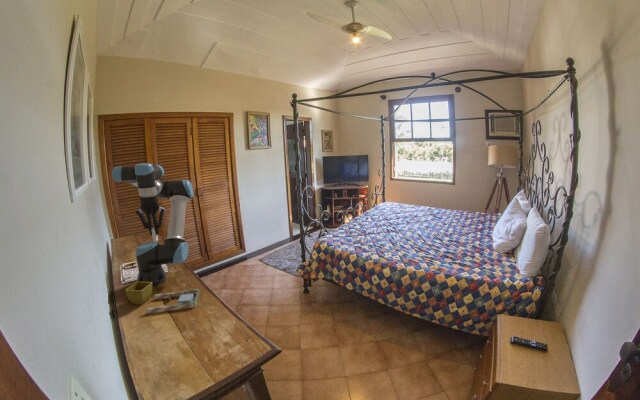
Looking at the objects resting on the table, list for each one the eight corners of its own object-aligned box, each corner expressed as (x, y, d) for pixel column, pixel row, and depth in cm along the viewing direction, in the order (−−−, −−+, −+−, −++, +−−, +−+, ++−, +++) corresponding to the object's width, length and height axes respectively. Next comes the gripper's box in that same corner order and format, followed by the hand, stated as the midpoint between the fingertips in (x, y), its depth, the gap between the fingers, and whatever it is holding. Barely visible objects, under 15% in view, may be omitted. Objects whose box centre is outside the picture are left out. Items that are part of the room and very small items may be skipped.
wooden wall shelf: (146, 313, 137) (145, 308, 136) (155, 299, 149) (154, 294, 149) (195, 307, 142) (194, 302, 141) (199, 293, 154) (199, 288, 153)
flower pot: (155, 297, 151) (152, 281, 149) (143, 306, 143) (141, 290, 141) (139, 296, 152) (137, 281, 150) (127, 306, 144) (124, 290, 142)
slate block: (178, 308, 141) (177, 301, 140) (182, 301, 147) (181, 294, 146) (191, 307, 142) (190, 300, 141) (194, 300, 148) (193, 293, 147)
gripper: (130, 198, 134) (138, 245, 140) (160, 196, 137) (167, 242, 143) (136, 194, 141) (144, 239, 147) (165, 193, 144) (171, 236, 150)
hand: (155, 240), depth 145 cm, fingers closed
